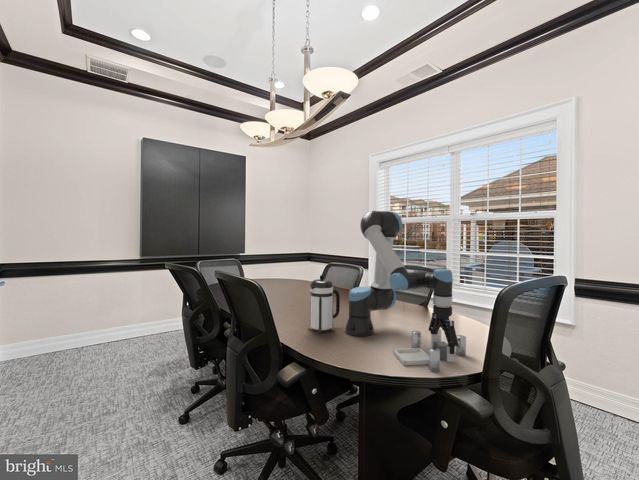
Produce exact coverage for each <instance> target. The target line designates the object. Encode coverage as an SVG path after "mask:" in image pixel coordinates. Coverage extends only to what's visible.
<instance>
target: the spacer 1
mask: <svg viewBox="0 0 639 480" xmlns="http://www.w3.org/2000/svg"><path fill="white" fill-rule="evenodd" d="M421 338H422V331H419V330H415V329H414V330H411V348H421V344H422V343H421V342H422V339H421ZM421 349H422V348H421Z"/></svg>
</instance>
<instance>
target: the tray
mask: <svg viewBox="0 0 639 480" xmlns="http://www.w3.org/2000/svg"><path fill="white" fill-rule="evenodd" d="M392 354H393V356H394V357H396V359H397V360H398V359H399V360H398V361H399V362H400V363H401V365H403V366H404V367H407V366H406V365H415V366H422V365H421V364H429V353H427V352H426V351H425V350H424V349H422V348H410V347H409V348H407V347H405V348H392Z"/></svg>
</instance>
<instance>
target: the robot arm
mask: <svg viewBox="0 0 639 480" xmlns="http://www.w3.org/2000/svg"><path fill="white" fill-rule="evenodd" d="M359 226H360V231H361V233H362V235H363V237H364V238H365V239H367V240H368V241H369V243H370V245H371V247H373V249H374V252H375V262H374V265H375V266H374V279H373V282H372V283H371V284H370V287H368V286H357V287H353V288H352V289H350V290H349V293H348V318H347V321H346V323H345V330H344V331H345V333H346V334H348V335H350V336H353V337H354V336H356V337H369V336H372V335H373V334H374V332H375V330H374V329H375V328H374V325H373V321H372V318H371V317H372V315H371V314H372V312H374V311H383V310H388V309H391V308H392V307H394V305H395V304H396V302H397V294H396V292H397V291H398V292H399V291H401V292H403V291H409V290H419V289H420V290H421V289H429V290H431V291H433V293H432V294H433V295H432V296H433V298H432V299H433V301H432V304H433V306H432V309H433V310H432V313H431V320H430V323H429V326H428V331H429V333H430V334H431V335H430V338H431V339H430V343H431V344H430V348H433V342H438V334H436V333H438V330H439V329H441V331H443V332H444V335H445V338H446V339H445V340H446V341H447V342H446V343H447V344H448V345H447V360H446V361H447V362H448V363H449V362H455V354H456V346H458V341H457V337H456V336H457V333H456V329H455V321H454V320H450V317H452V315H453V306H452V305H453V282H454V279H453V272H452V270H451V269H447V268H435V269H434V270H433V272H431V271H425V270H415V271H411V272H410V271H408V270H407V268H406V267H405V265H404V263H403V262H402V260H400V258H399V256H398V255H397V253H396V252H395V249H394V248H393V247H394V240H395V239H396V238H397V235H398V233H400V232H401V231H402V228H403V221H402V218H401V216H400V214H398V213H397V212H395V211H391V210H389V211H388V210H387V211H386V210H384V211H382V210H381V211H380V210H371V211H367V212H366V213H365V214H364V215H363V216H362V217H361V220H360V225H359Z"/></svg>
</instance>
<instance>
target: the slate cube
mask: <svg viewBox="0 0 639 480" xmlns="http://www.w3.org/2000/svg"><path fill="white" fill-rule="evenodd" d="M447 345H448V342H446V341H441V342H433V348H437V349H439V350H440V361H447Z"/></svg>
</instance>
